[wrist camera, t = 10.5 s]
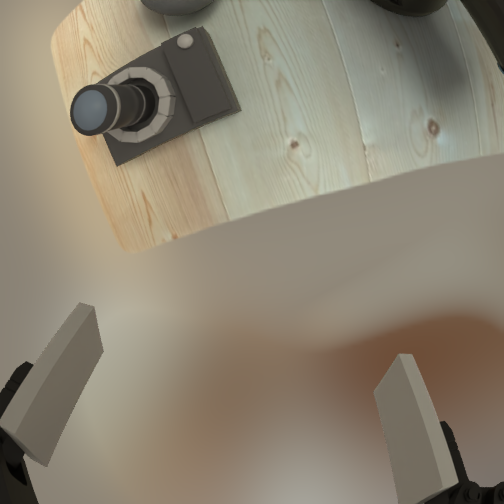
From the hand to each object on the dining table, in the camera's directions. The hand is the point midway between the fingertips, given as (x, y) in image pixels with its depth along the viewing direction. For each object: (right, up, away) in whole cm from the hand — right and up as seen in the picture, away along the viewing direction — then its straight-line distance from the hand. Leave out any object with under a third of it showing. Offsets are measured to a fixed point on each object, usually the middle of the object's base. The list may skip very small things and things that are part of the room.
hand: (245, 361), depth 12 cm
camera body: (-10, +24, +21) cm, 33 cm away
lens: (-13, +21, +18) cm, 30 cm away
